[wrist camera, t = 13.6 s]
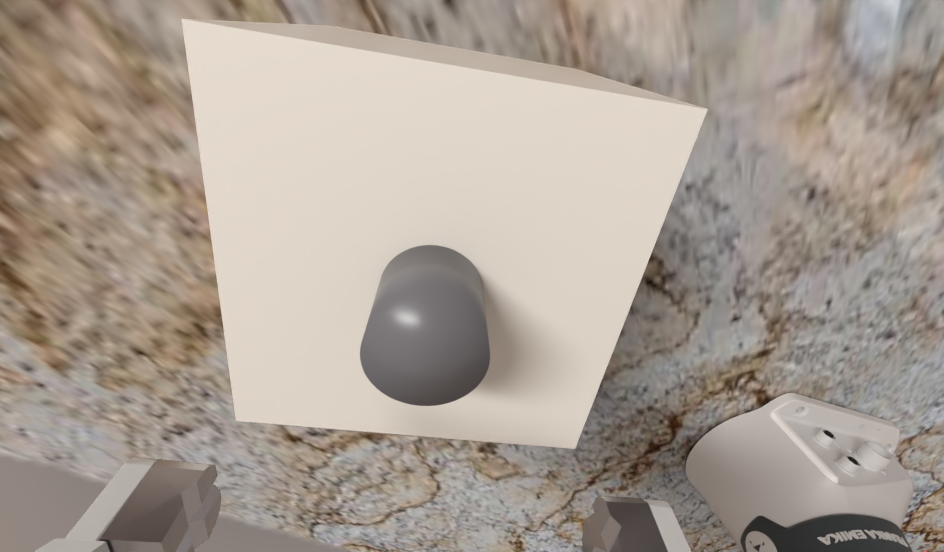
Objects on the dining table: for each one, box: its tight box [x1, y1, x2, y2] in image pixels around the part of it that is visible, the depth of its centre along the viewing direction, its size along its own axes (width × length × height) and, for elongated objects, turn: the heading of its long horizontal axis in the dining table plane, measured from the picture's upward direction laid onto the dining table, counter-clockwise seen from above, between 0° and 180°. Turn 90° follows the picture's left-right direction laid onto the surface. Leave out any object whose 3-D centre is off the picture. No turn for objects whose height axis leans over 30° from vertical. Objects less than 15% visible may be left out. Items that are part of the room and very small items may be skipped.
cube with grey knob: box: [182, 19, 708, 449], centre depth 23 cm, size 16×16×22 cm
